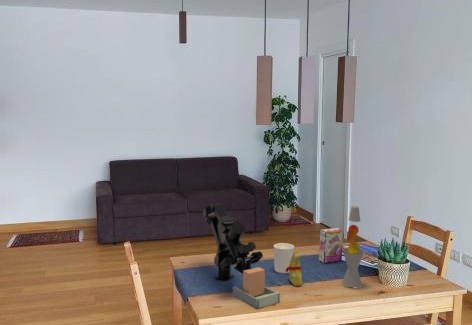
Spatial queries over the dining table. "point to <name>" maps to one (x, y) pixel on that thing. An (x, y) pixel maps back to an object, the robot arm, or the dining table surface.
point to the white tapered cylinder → (282, 256)
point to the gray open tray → (258, 297)
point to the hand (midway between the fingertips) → (250, 278)
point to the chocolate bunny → (295, 269)
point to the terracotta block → (254, 281)
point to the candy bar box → (330, 245)
